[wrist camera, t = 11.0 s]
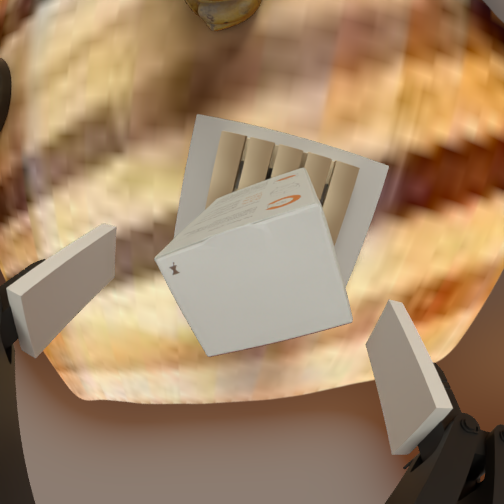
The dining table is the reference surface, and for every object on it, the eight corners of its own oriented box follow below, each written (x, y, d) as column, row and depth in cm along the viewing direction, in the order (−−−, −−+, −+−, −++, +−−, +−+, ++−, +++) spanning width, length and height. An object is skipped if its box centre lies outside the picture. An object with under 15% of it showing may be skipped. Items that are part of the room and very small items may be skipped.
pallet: (200, 250, 31) (193, 260, 28) (225, 130, 26) (219, 130, 24) (316, 282, 30) (318, 295, 28) (356, 165, 26) (361, 169, 23)
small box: (242, 263, 28) (204, 360, 16) (215, 198, 26) (148, 257, 14) (330, 236, 26) (355, 325, 14) (306, 165, 24) (319, 198, 12)
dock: (181, 242, 34) (169, 254, 31) (205, 115, 29) (194, 113, 25) (337, 284, 33) (341, 301, 30) (380, 163, 28) (390, 166, 25)
